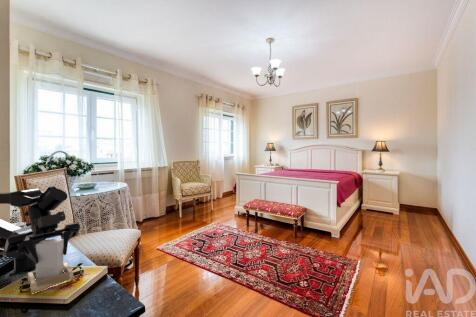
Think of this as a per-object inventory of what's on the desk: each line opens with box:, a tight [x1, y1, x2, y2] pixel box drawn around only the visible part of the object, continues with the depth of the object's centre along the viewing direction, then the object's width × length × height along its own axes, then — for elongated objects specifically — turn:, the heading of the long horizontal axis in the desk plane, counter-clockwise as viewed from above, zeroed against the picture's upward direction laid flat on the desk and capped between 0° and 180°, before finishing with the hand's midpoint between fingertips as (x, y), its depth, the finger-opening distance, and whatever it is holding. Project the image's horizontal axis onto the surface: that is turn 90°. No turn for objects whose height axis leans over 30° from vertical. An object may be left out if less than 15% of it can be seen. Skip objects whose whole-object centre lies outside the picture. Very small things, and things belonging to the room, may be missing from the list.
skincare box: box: [35, 238, 64, 282], centre depth 72 cm, size 6×4×12 cm
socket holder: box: [27, 261, 74, 294], centre depth 72 cm, size 10×10×3 cm
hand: (51, 258), depth 71 cm, fingers closed on skincare box, 7 cm apart
